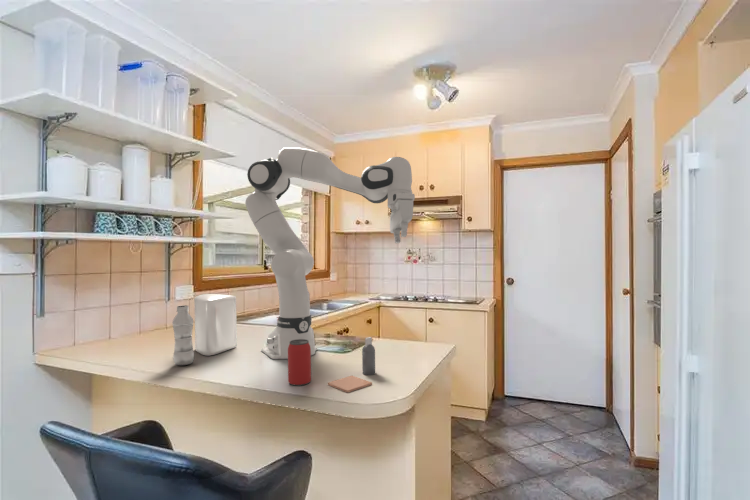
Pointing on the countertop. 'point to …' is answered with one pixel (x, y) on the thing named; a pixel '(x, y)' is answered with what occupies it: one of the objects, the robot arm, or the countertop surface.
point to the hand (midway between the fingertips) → (400, 239)
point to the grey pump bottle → (368, 357)
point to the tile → (349, 383)
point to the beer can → (299, 362)
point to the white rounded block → (215, 323)
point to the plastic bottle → (183, 336)
